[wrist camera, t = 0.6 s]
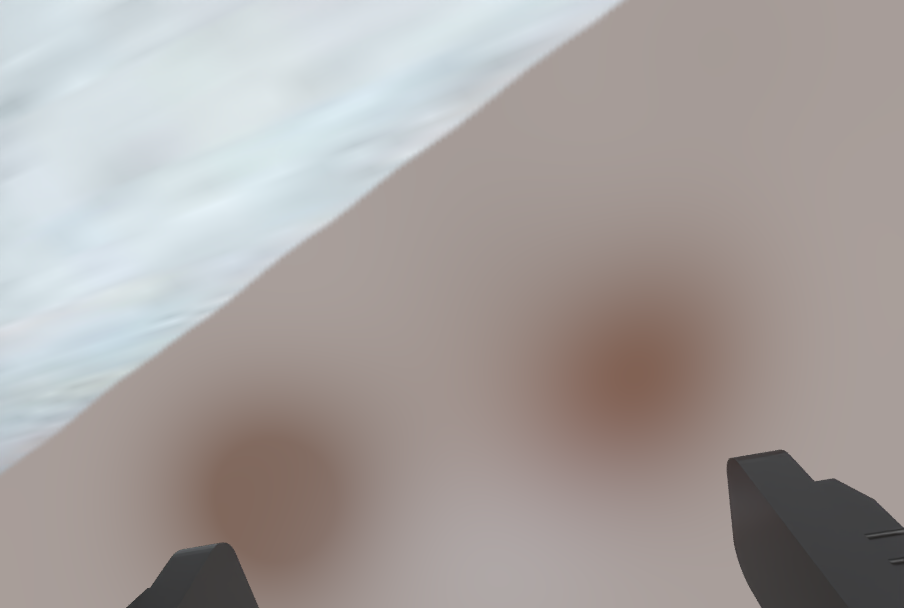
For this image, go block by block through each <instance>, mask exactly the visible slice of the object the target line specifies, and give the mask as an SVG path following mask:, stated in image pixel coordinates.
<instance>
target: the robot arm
mask: <svg viewBox="0 0 904 608" xmlns="http://www.w3.org/2000/svg"><path fill="white" fill-rule="evenodd" d="M727 478H728V489H729V499H730V509H731V519H732V529H733V540H734V546H735V550H736V554H737V558H738V561H739V564H740V567H741V569H742V572H743V574H744V577H745V579H746V581H747V583H748V585H749V587H750V589H751V591H752V592H753V594H754V596H755V597H756V599H757V601H758V602H759V604H760V606H761V608H904V528H903V527H902V526H901V525H900V524H899V523H898V522H897V521H896V520H895V519H894V518H893V517H892V516H891V515H890V514H889V513H888V512H887V511H885V509H883V508H882V507H881V506H880V505H879V504H878V503H877V502H876V501H875V500H874V499H872V498H870V497H868V496H866V495H865V494H863V493H861V492H859V491H857V490H855V489H853V488H851V487H849V486H847V485H846V484H844V483H842V482H840V481H838V480H836V479H827V480H821V481H814V480H813V479H812V478H811V477H810V476H809V475H808V474H807V473H806V472H805V471H804V470H803V468H802V467H801V466H800V465H799V464H798V463H797V462H796V461H795V460H794V459H793V458H792V457H791V456H790V455H789V454H788V453H787V452H786V451H784V450H775V451H770V452H764V453H758V454H752V455H746V456H740V457H734V458H730V459H729V460H728V462H727ZM127 608H259V607H258V605H257V603H256V600H255V598H254V595H253V593H252V591H251V588H250V586H249V584H248V581H247V579H246V577H245V574H244V572H243V569H242V567H241V565H240V563H239V560H238V558H237V555H236V553H235V551H234V549H233V548H232V547H231V546H230V545H229V544H228V543H217V544H211V545H205V546H199V547H194V548H187V549H182V550H179V551H177V552H176V553H175V554H174V555H173V556H172V557H171V558H170V560H169V561H168V563H167V564H166V566H165V567H164V568H163V570H162V571H161V573H160V574H159V576H158V577H157V579H156V580H155V582H154V583H153V585H152V586H151V587H150V588H147V589H146V590H145V591H144V592H143V593H142V594H141V595H140V596H138V597H137V598H136V599H135V600H134V601H133V602H132V603H131V604H130V605H129V606H128V607H127Z"/></svg>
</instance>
